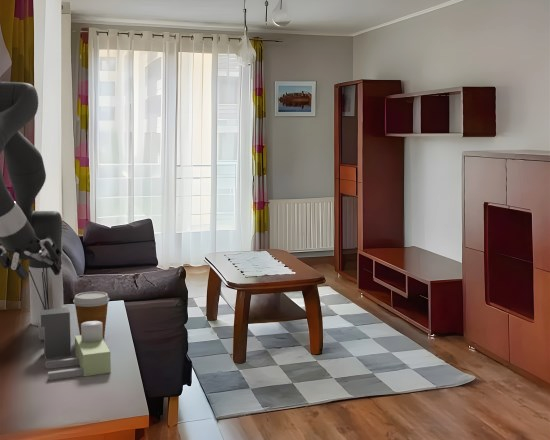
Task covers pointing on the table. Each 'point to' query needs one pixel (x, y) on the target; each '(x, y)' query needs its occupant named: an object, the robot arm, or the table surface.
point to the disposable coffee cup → (91, 308)
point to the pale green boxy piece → (85, 354)
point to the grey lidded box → (56, 332)
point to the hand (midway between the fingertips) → (42, 274)
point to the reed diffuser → (40, 329)
